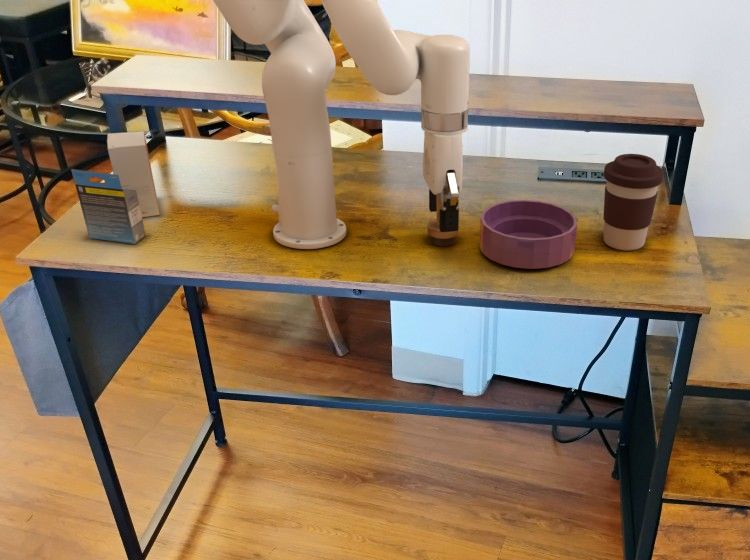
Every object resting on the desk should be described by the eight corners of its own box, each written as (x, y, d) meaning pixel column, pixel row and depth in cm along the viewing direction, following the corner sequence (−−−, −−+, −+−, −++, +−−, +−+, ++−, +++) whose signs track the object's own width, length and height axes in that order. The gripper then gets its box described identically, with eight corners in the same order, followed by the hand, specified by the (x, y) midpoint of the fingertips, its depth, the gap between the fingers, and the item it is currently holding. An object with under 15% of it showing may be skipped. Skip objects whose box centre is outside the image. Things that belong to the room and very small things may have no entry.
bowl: (460, 251, 143) (460, 218, 139) (519, 223, 153) (522, 192, 149) (534, 282, 134) (536, 248, 131) (592, 251, 144) (596, 219, 141)
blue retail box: (147, 235, 144) (132, 166, 137) (135, 245, 141) (119, 175, 133) (100, 229, 145) (84, 160, 138) (87, 238, 142) (69, 169, 135)
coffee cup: (614, 226, 153) (625, 145, 144) (662, 242, 148) (676, 159, 139) (584, 243, 147) (594, 160, 138) (633, 260, 142) (646, 175, 133)
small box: (160, 215, 151) (146, 144, 143) (122, 219, 149) (106, 148, 141) (158, 199, 157) (144, 130, 149) (122, 202, 155) (106, 133, 147)
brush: (420, 240, 146) (420, 179, 139) (442, 231, 149) (443, 172, 143) (442, 250, 143) (443, 189, 136) (464, 240, 146) (466, 180, 140)
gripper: (411, 103, 140) (412, 202, 150) (432, 137, 126) (432, 244, 136) (455, 102, 141) (453, 199, 152) (480, 135, 128) (476, 240, 138)
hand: (443, 220), depth 144 cm, fingers open, 7 cm apart
